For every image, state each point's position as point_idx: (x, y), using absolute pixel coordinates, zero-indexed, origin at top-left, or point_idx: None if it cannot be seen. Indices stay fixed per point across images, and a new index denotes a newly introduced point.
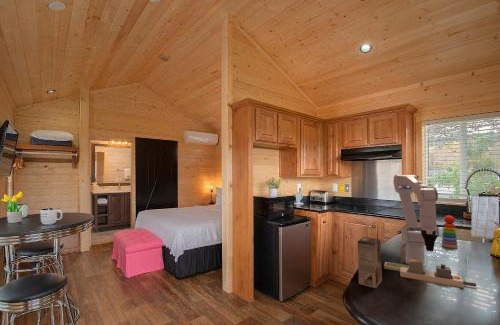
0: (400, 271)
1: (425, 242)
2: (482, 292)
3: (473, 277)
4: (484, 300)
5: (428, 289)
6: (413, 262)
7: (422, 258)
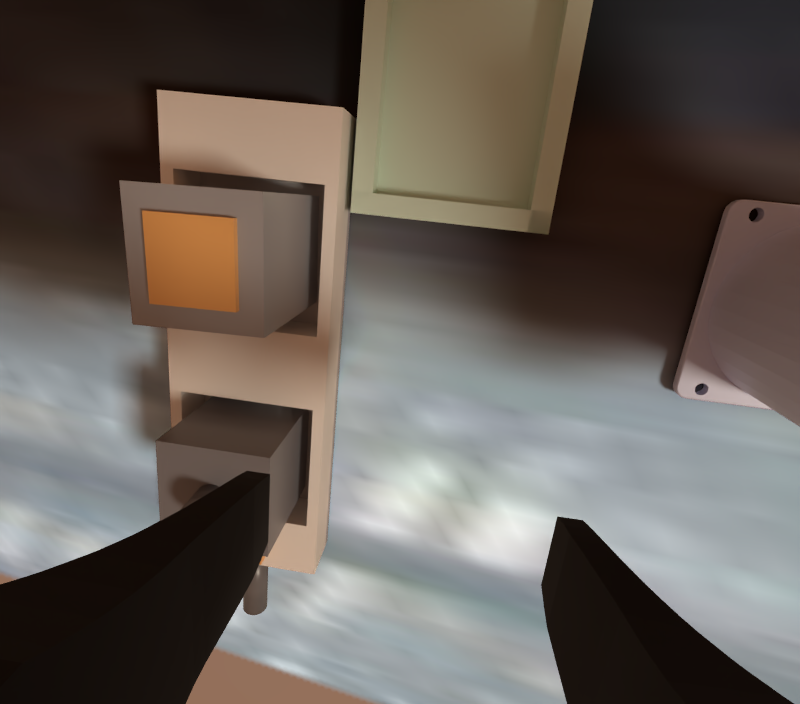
0: (158, 94)
1: (131, 545)
2: None
3: (501, 652)
4: (61, 558)
5: (35, 298)
6: (125, 235)
7: (766, 401)
